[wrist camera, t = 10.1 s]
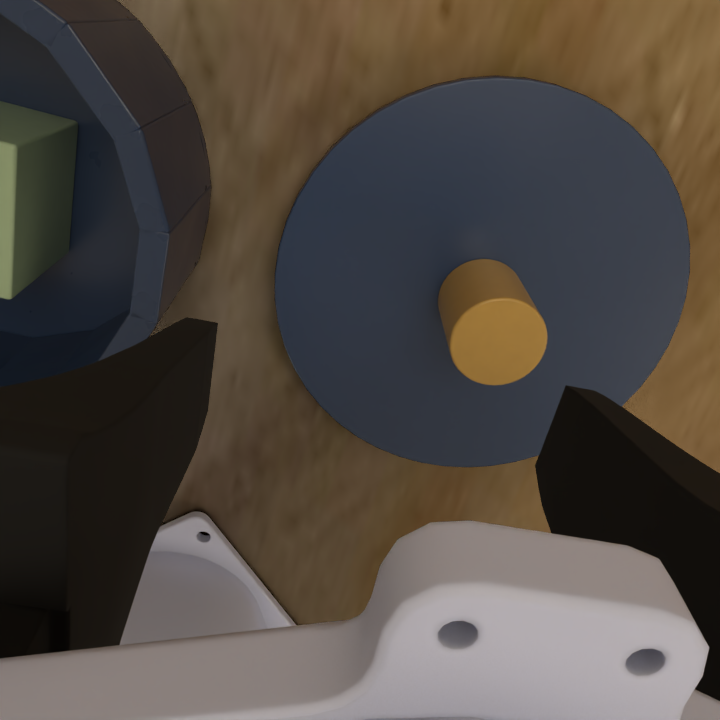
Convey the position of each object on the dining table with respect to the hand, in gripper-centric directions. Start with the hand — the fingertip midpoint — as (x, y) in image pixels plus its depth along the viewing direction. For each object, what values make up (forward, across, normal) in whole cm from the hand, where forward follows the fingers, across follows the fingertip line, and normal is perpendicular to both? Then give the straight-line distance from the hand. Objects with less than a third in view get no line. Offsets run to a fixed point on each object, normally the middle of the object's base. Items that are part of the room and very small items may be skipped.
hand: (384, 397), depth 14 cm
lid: (+8, -3, 0) cm, 9 cm away
